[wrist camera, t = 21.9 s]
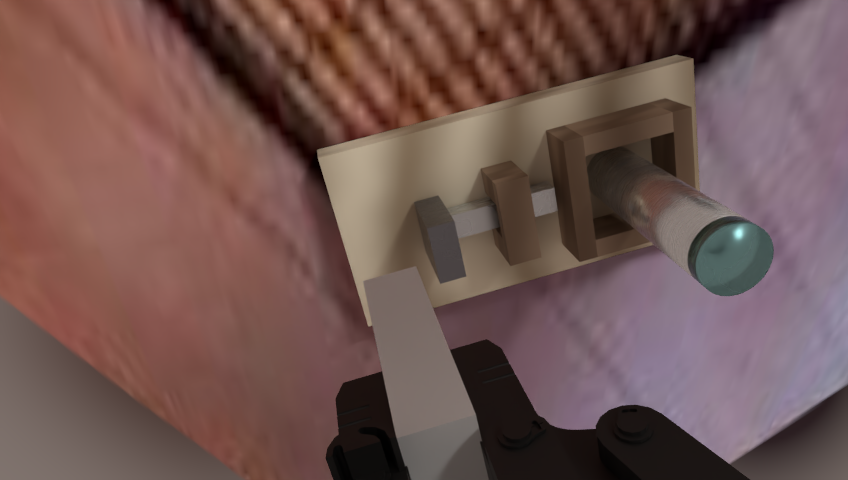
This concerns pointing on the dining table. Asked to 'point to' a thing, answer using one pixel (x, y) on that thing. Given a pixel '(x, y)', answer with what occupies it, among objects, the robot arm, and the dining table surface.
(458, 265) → the lock pin
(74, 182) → the dining table surface
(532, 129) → the dock
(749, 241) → the silver cylinder
